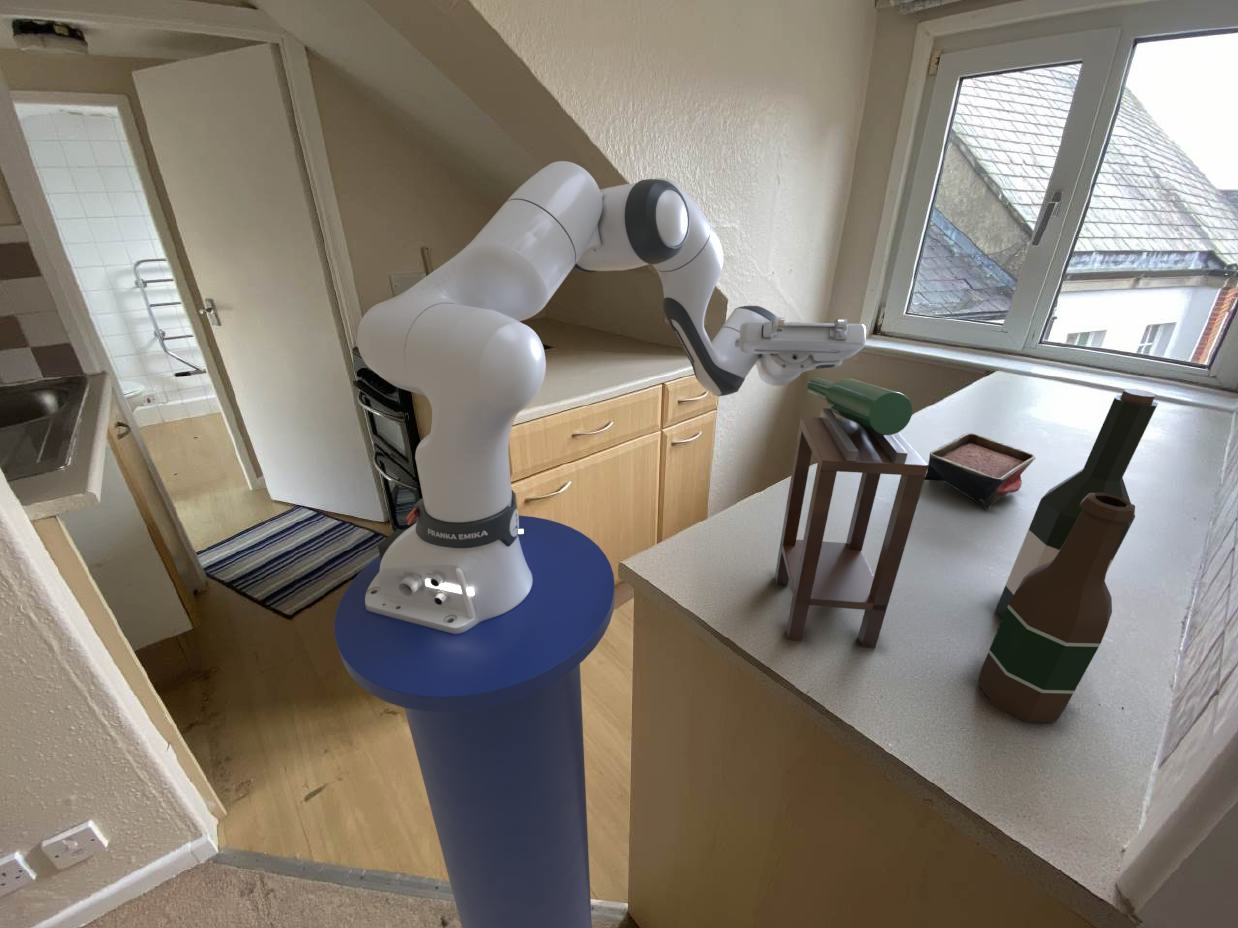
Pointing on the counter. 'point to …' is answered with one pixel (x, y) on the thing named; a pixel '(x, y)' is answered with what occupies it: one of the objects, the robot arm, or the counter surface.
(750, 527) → the counter surface
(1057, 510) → the wine bottle
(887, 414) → the green bottle
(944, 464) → the baking dish
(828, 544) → the bottle rack
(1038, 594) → the beer bottle
